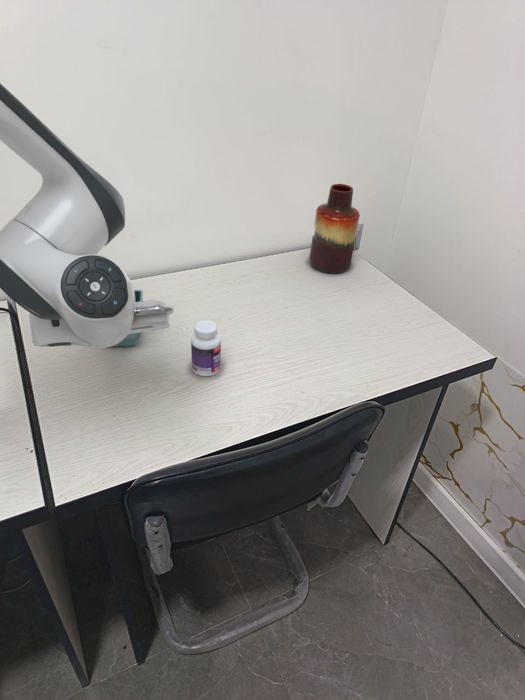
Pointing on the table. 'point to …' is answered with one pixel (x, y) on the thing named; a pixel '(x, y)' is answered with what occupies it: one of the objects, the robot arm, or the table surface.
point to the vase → (334, 231)
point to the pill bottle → (206, 349)
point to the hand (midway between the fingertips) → (104, 331)
